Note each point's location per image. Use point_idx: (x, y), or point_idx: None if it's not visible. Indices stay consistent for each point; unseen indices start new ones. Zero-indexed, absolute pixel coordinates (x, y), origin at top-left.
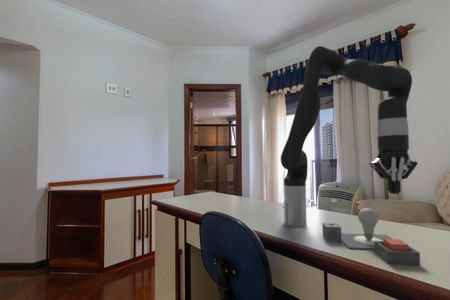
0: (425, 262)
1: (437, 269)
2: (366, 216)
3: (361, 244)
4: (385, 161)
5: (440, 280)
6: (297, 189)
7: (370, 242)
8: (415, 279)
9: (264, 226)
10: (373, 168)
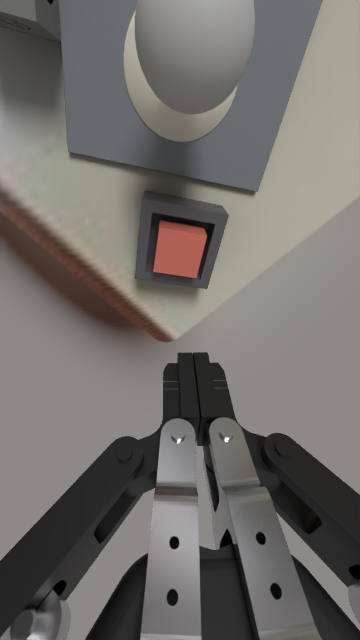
0: (230, 260)
1: (223, 290)
2: (157, 92)
3: (128, 123)
4: None
5: (189, 323)
6: None
7: None
8: (149, 319)
9: None
10: (6, 557)
